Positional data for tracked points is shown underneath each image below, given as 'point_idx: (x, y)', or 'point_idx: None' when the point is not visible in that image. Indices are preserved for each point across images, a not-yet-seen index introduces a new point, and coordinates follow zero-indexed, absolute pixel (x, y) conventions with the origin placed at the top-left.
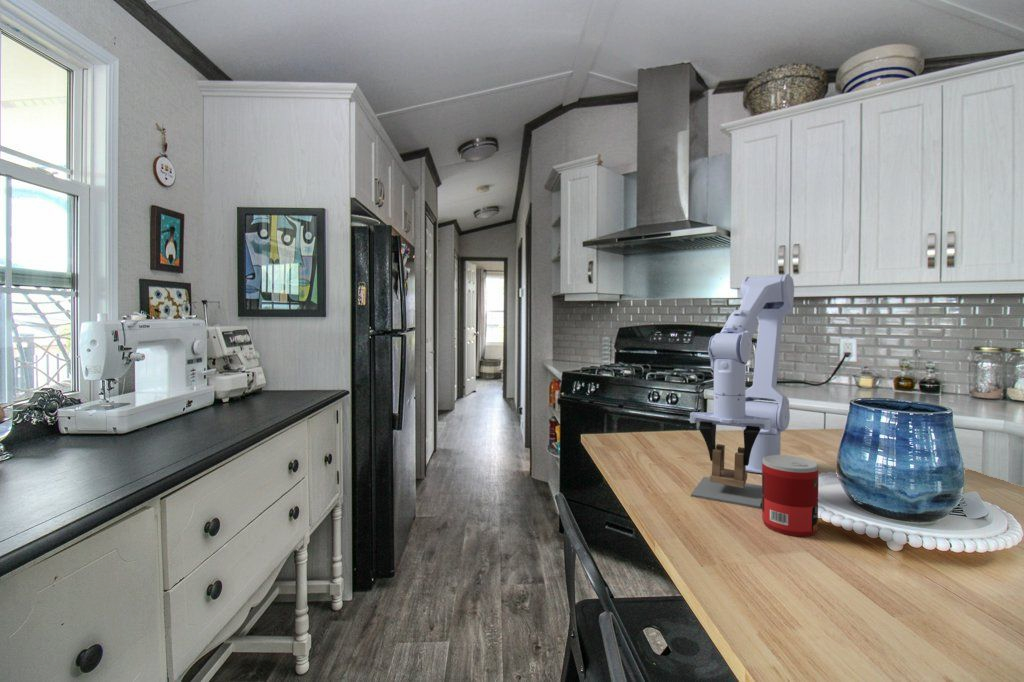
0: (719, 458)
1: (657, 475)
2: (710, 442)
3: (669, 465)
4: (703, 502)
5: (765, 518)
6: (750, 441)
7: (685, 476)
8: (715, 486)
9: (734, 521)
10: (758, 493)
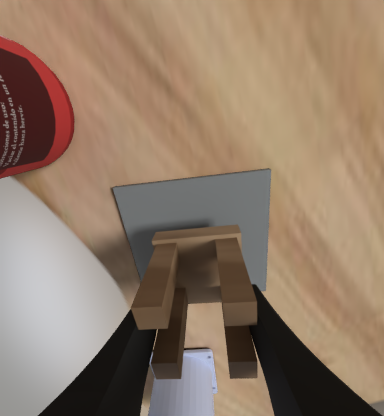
0: (222, 280)
1: (367, 256)
2: (284, 352)
3: (345, 320)
4: (231, 145)
5: (34, 58)
6: (69, 397)
7: (303, 280)
8: None
9: (124, 53)
10: (143, 257)
